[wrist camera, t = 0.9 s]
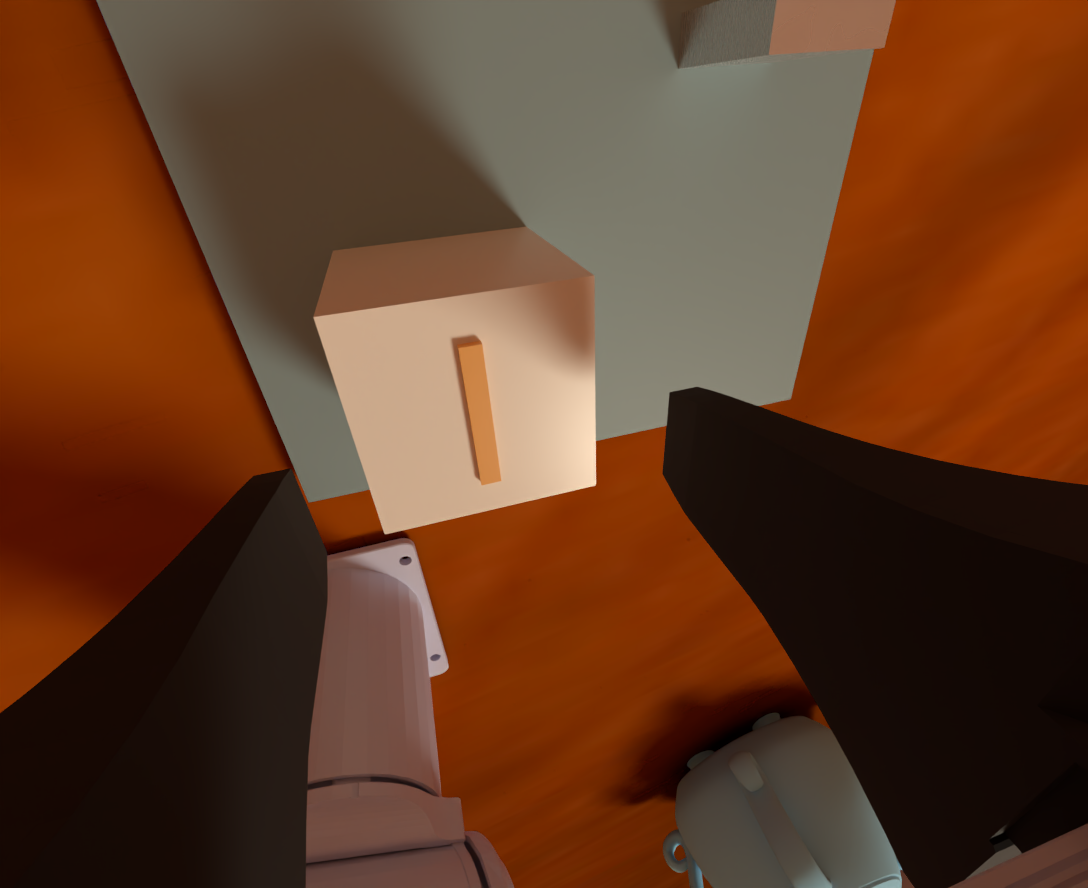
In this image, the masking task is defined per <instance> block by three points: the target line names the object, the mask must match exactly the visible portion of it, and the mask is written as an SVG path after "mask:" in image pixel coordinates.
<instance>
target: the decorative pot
mask: <svg viewBox="0 0 1088 888" xmlns="http://www.w3.org/2000/svg"><path fill="white" fill-rule="evenodd" d="M752 730H753V731H751V732H749V733H747V734H745V735H743V736H741V737H739V738H738V739H736V740H734V741H732V742H730V743H729V744H727V745H725V746H724V747H722V748H721V749H719V750H717V751H716V752H714V751H712V750H707V751H703V752H701V753H698V754H696V755H695V756H693V757H692V758H691V759H690V760H689V761H688V763H687V766H688V767H689V768H690V769H691V770H690V771H689V772H688V773H687V774H686V775H685V776H684V777H683V778H682V779H681V781H680V782H679V784H678V786H677V794H676V806H675V818H676V823H677V827H678V830H674V831H672V832H670V833H669V834H668V835H667V837H666V838H665V840H664V843H663V854H664V857H665V860H666V862H667V864H668V865H669V866H670V868H671V869H672V870H674V871H676V872H681V873H682V872H684V871H686V870H687V869H688V875H689V883H690V888H703V881H702V873H703V875H704V876H705V878H706V879H707V880H708V882H709V883H710V884H711V886H712V887H713V888H901V887H902V885H901V883H902V880H901V874H900V870H902V868H901V866H900V864H899V862H898V859H897V857H896V855H895V853H894V851H893V849H892V847H891V845H890V843H889V840H888V838H887V836H886V834H885V832H884V830H883V828H882V826H881V824H880V822H879V820H878V818H877V816H876V814H875V812H874V810H873V808H872V806H871V804H870V802H869V800H868V798H867V796H866V794H865V792H864V790H863V788H862V786H861V784H860V782H859V781H858V779H857V777H856V775H855V773H854V771H853V769H852V767H851V765H850V763H849V761H848V760H847V758H846V756H845V754H844V752H843V750H842V749H841V747H840V745H839V743H838V741H837V739H836V738H835V736H834V734H833V732H832V730H830V729H829V728H827V727H825V726H823V725H822V724H820V723H818V722H816V721H814V720H812V719H809V718H807V717H805V716H791V717H787V718H783V719H780V715H779V713H770V714H767V715H765V716H763V717H761V718H760V719H758V720H757V721H756V722H755V723H754V725H753V726H752ZM678 845H681V846H682V847H683V849H684V851H685V855H686V858H684V859H683V860H681V861H678V860H676V859H675V857H674V851H675V848H676V847H677V846H678ZM899 869H900V870H899ZM701 872H702V873H701Z"/></svg>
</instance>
